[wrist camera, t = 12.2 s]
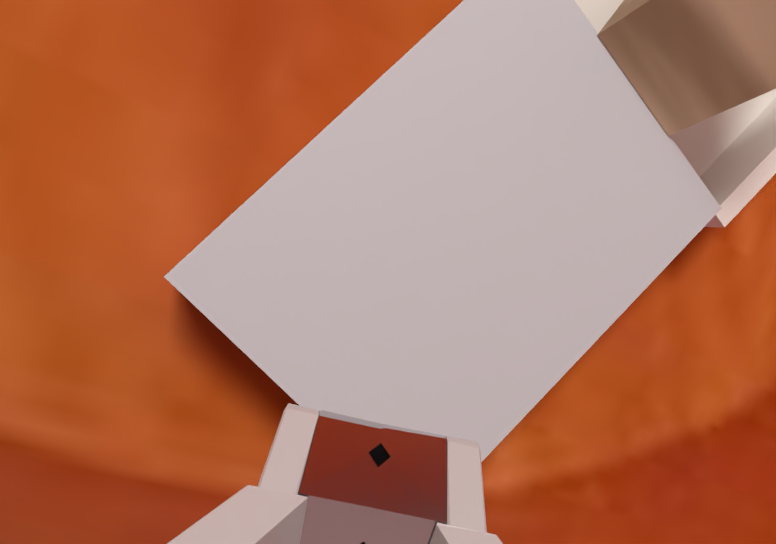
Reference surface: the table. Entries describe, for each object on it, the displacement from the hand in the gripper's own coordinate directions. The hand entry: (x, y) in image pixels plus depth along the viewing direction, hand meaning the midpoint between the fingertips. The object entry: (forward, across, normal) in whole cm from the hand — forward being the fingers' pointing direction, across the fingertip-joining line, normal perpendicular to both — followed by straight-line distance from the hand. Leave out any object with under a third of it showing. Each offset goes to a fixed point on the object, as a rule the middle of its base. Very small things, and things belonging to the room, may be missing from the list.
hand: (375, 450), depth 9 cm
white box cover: (+15, -2, +3) cm, 15 cm away
